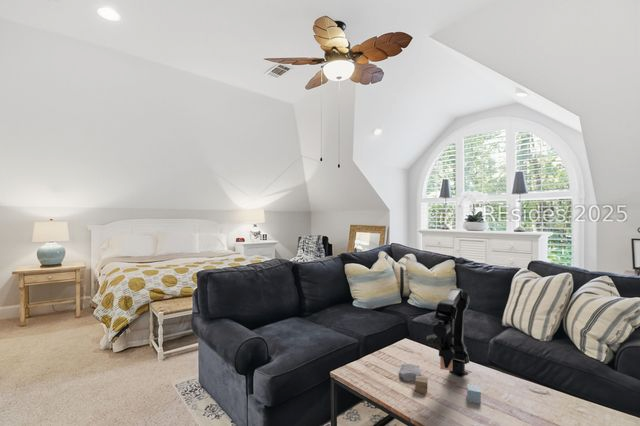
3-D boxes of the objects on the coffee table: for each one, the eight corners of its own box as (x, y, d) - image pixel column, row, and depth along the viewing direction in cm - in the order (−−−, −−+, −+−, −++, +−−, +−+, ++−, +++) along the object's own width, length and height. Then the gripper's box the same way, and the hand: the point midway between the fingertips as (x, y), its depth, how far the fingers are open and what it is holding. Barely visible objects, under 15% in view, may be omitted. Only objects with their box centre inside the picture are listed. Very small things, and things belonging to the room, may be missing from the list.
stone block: (401, 384, 158) (423, 382, 156) (399, 374, 158) (421, 372, 156) (400, 373, 169) (420, 371, 168) (398, 363, 170) (418, 361, 168)
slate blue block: (466, 395, 145) (466, 384, 145) (479, 397, 144) (479, 386, 144) (467, 401, 141) (467, 390, 141) (480, 404, 139) (480, 392, 139)
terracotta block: (440, 363, 150) (440, 353, 150) (452, 365, 149) (452, 354, 149) (440, 368, 146) (440, 357, 146) (452, 370, 144) (452, 359, 144)
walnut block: (416, 385, 153) (416, 375, 153) (427, 388, 151) (427, 377, 151) (415, 391, 148) (415, 380, 148) (426, 393, 147) (427, 382, 147)
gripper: (428, 321, 158) (428, 353, 159) (426, 335, 141) (426, 371, 141) (453, 324, 155) (453, 357, 155) (454, 339, 137) (454, 376, 137)
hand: (446, 364), depth 147 cm, fingers closed on terracotta block, 5 cm apart
